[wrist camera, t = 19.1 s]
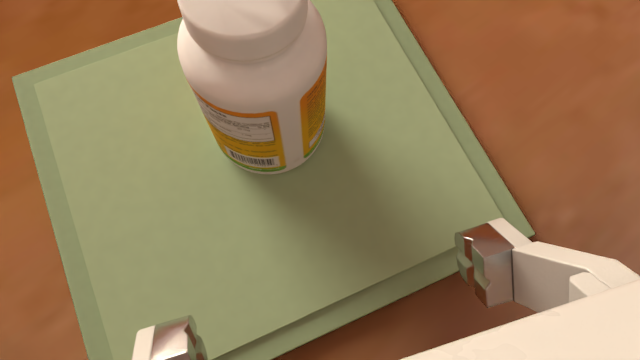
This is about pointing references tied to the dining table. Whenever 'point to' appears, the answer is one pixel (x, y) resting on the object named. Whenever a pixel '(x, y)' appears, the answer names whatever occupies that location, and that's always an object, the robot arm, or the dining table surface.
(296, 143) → the supplement bottle
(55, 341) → the dining table surface
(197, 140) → the placemat
